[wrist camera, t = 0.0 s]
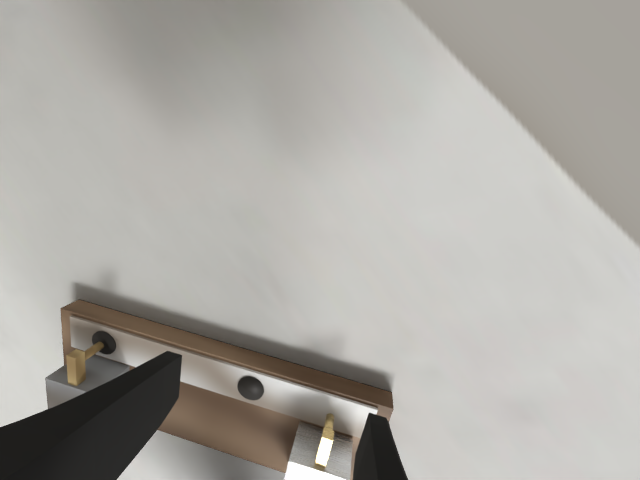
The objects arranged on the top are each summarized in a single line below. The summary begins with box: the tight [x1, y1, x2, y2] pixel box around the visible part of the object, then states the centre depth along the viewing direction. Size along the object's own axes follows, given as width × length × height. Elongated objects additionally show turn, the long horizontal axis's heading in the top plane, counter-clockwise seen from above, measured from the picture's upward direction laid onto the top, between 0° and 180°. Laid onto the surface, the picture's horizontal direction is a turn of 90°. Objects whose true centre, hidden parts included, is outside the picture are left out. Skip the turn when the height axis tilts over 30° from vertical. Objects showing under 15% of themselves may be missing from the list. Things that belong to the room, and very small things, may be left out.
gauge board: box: [45, 300, 393, 480], centre depth 22 cm, size 9×26×4 cm, turn 78°
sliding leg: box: [284, 413, 353, 480], centre depth 20 cm, size 7×4×3 cm, turn 168°
